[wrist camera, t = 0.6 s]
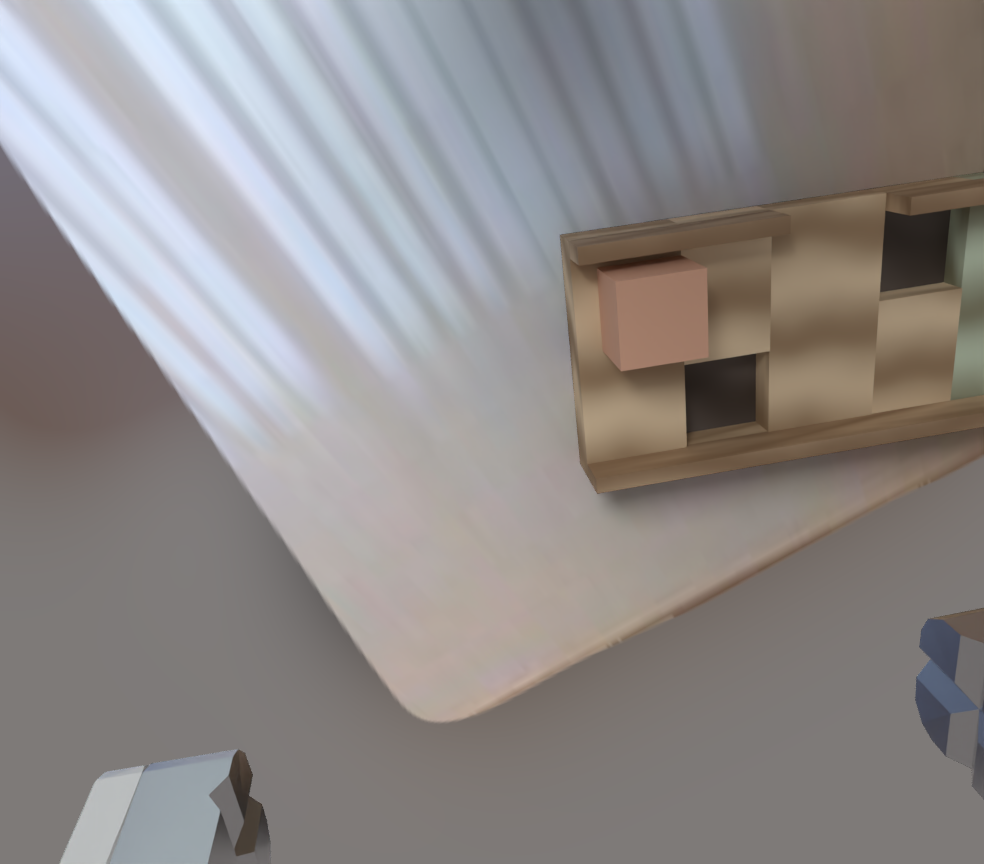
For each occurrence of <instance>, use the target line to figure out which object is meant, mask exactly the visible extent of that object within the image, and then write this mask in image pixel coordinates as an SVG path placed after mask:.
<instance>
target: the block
mask: <svg viewBox="0 0 984 864" xmlns="http://www.w3.org/2000/svg"><path fill="white" fill-rule="evenodd" d="M597 280H598V294H599V308H600V321H601V335H602V349H603V352H604V353H605V354H606V355H607V356H608V357H609V359H610V360H611V361H612V362H613V363H614V364H615V365H616V366H617V367H618V368H619V370H620V371H627V370H633V369H639V368H645V367H652V366H658V365H664V364H670V363H676V362H683V361H689V360H695V359H701V358H707V357H709V347H708V292H707V268H706V267H704V266H702V265H700V264H698V263H696V262H694V261H692V260H690V259H688V258H686V257H684V256H682V255H678V256H672V257H665V258H659V259H652V260H645V261H639V262H632V263H626V264H619V265H612V266H606V267H599V268H597Z"/></svg>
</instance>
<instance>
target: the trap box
mask: <svg viewBox="0 0 984 864" xmlns="http://www.w3.org/2000/svg"><path fill="white" fill-rule="evenodd" d="M560 241H561V252H562V263H563V274H564V286H565V297H566V308H567V320H568V331H569V342H570V353H571V365H572V376H573V387H574V399H575V410H576V421H577V432H578V444H579V455H580V464H581V466H582V467H583V469H584V471H585V473H586V475H587V476H588V478H589V480H590V482H591V483H592V485H593V487H594V489H595V491H596V492H597V494H598V493H604V492H609V491H615V490H621V489H627V488H633V487H638V486H644V485H650V484H656V483H662V482H667V481H673V480H679V479H685V478H690V477H696V476H702V475H708V474H714V473H719V472H725V471H731V470H737V469H743V468H748V467H754V466H760V465H766V464H772V463H777V462H783V461H789V460H795V459H801V458H806V457H812V456H818V455H824V454H830V453H835V452H841V451H847V450H853V449H859V448H864V447H870V446H876V445H882V444H888V443H893V442H899V441H905V440H911V439H917V438H922V437H928V436H934V435H940V434H946V433H951V432H957V431H963V430H969V429H975V428H980V427H984V172H981V173H974V174H968V175H961V176H954V177H948V178H941V179H934V180H927V181H921V182H914V183H907V184H900V185H894V186H887V187H880V188H873V189H867V190H860V191H853V192H846V193H840V194H833V195H826V196H819V197H813V198H806V199H799V200H792V201H786V202H779V203H772V204H765V205H759V206H752V207H745V208H738V209H732V210H725V211H718V212H711V213H705V214H698V215H691V216H684V217H678V218H671V219H664V220H657V221H651V222H644V223H637V224H630V225H624V226H617V227H610V228H603V229H597V230H590V231H583V232H576V233H570V234H563V235H560ZM678 255H682V256H684V257H686V258H688V259H690V260H692V261H694V262H696V263H698V264H700V265H702V266H704V267H706V268H707V292H708V347H709V357H707V358H701V359H695V360H689V361H683V362H676V363H670V364H664V365H658V366H652V367H645V368H639V369H633V370H627V371H620V370H619V368H618V367H617V366H616V365H615V364H614V363H613V362H612V361H611V360H610V359H609V357H608V356H607V355H606V354H605V353H604V352H603V349H602V335H601V321H600V308H599V294H598V280H597V268H599V267H606V266H612V265H619V264H626V263H632V262H639V261H645V260H652V259H659V258H665V257H672V256H678Z"/></svg>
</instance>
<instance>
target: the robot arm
mask: <svg viewBox="0 0 984 864" xmlns="http://www.w3.org/2000/svg"><path fill="white" fill-rule="evenodd" d="M919 647H920V648H921V650H922V651H923V652H924V653H925V654H926V656H927V657H928V658H929V659H930V660H929V662H928V663H927V664H926V666H925V667H924V668H923V669H922V671H921V672H920V673H919V674H918V676H917V677H916V696H915V701H916V704H917V708H918V711H919V715H920V718H921V721H922V724H923V726H924V727H925V729H926V731H927V733H928V734H929V736H930V738H931V739H932V741H933V742H934V743H935V744H936V746H937V747H938V748H939V749H940V750H941V751H942V752H943V754H944V755H945V756H946V757H948V758H950V759H952V760H954V761H956V762H958V763H961V764H963V765H965V766H967V767H969V768H971V769H972V770H971V771H972V787H973V788H974V789H975V790H976V791H977V792H978V794H979V795H980V796H981V797H982V798H983V799H984V608H981V609H976V610H971V611H965V612H961V613H955V614H950V615H945V616H940V617H935V618H930V619H928V620H927V621H926V623H925V625H924V626H923V628H922V630H921V638H920V646H919ZM252 777H253V774H252V771H251V768H250V765H249V763H248V760H247V757H246V754H245V753H244V752H243V751H241V750H239V749H236V750H230V751H225V752H218V753H212V754H206V755H200V756H194V757H188V758H182V759H176V760H170V761H163V762H157V763H152V764H150V765H146V766H138V767H132V768H126V769H120V770H114V771H109V772H105V773H104V774H103V775H102V776H101V777H100V778H98V779H97V780H96V782H95V783H94V785H93V787H92V789H91V792H90V794H89V796H88V798H87V801H86V803H85V806H84V808H83V810H82V812H81V815H80V817H79V819H78V821H77V824H76V826H75V829H74V831H73V833H72V835H71V838H70V840H69V842H68V845H67V847H66V849H65V851H64V854H63V856H62V859H61V861H60V863H59V864H271V857H270V856H271V855H270V854H271V851H270V836H269V830H268V824H267V819H266V816H265V812H264V809H263V806H262V804H261V803H259V802H258V801H256V800H255V799H253V798H252V797H250V796H249V793H250V787H251V782H252Z"/></svg>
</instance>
